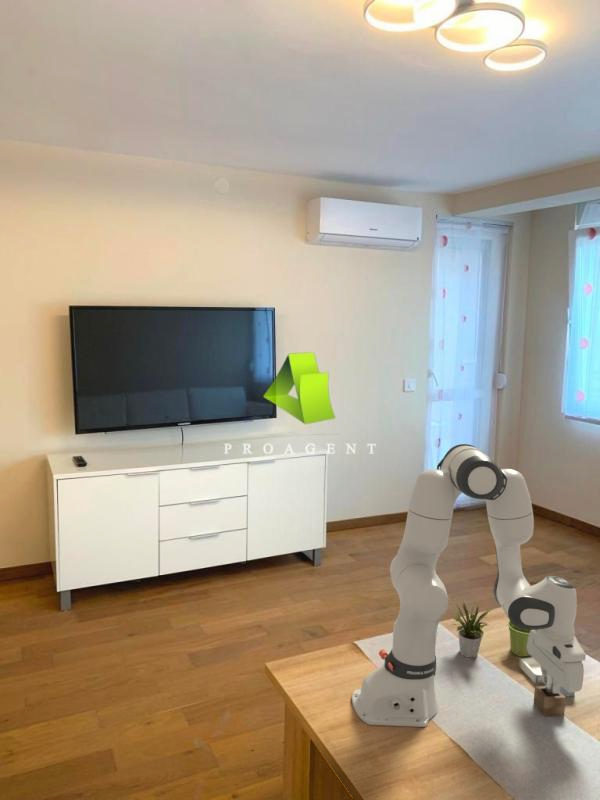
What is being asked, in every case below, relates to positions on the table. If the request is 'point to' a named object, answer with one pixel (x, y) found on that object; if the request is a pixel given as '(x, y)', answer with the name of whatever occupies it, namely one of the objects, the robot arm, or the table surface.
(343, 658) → the table surface
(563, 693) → the slate-blue block
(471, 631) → the house plant
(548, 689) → the pin gauge
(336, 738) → the table surface
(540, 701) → the walnut block
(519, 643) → the plant pot
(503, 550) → the robot arm
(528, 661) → the off-white tray
